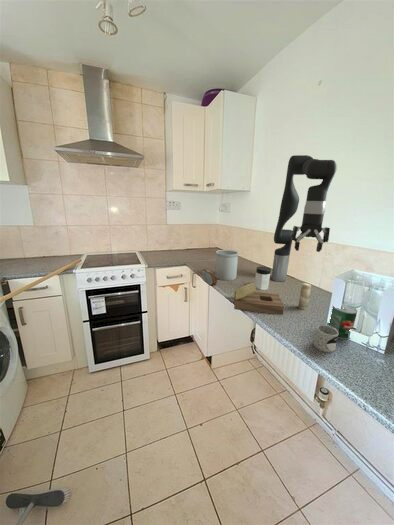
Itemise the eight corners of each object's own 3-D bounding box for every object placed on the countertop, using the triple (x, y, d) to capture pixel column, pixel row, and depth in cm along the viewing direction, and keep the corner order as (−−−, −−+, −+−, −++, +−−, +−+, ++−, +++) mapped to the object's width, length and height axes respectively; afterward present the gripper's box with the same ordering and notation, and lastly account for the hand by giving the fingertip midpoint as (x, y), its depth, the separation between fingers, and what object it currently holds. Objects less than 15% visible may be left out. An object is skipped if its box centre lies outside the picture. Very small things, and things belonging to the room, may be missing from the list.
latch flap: (236, 291, 113) (235, 289, 113) (254, 283, 110) (253, 282, 110) (236, 300, 102) (235, 298, 102) (256, 291, 100) (255, 290, 100)
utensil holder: (215, 280, 139) (217, 254, 134) (213, 273, 153) (214, 249, 148) (238, 281, 139) (240, 254, 134) (234, 273, 153) (236, 249, 149)
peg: (297, 305, 108) (300, 283, 105) (305, 306, 107) (309, 283, 104) (299, 309, 104) (303, 286, 101) (308, 310, 104) (312, 286, 100)
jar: (257, 290, 126) (259, 270, 122) (251, 285, 133) (253, 266, 130) (271, 289, 127) (274, 270, 124) (265, 284, 135) (267, 266, 131)
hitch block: (234, 297, 116) (234, 290, 115) (277, 301, 112) (278, 294, 111) (234, 309, 102) (234, 301, 101) (282, 314, 99) (284, 306, 98)
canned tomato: (330, 325, 91) (335, 301, 88) (352, 333, 86) (359, 308, 83) (325, 333, 85) (330, 307, 82) (348, 342, 80) (355, 315, 77)
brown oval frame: (216, 287, 128) (217, 273, 126) (212, 288, 127) (212, 274, 125) (204, 279, 141) (205, 266, 139) (200, 279, 140) (201, 267, 138)
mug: (329, 355, 73) (332, 338, 71) (309, 344, 78) (312, 328, 76) (342, 345, 78) (346, 329, 76) (323, 335, 84) (327, 320, 82)
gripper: (328, 212, 92) (321, 250, 96) (293, 211, 94) (287, 248, 98) (336, 213, 85) (328, 254, 89) (298, 212, 87) (292, 251, 91)
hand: (307, 250), depth 94 cm, fingers open, 8 cm apart
